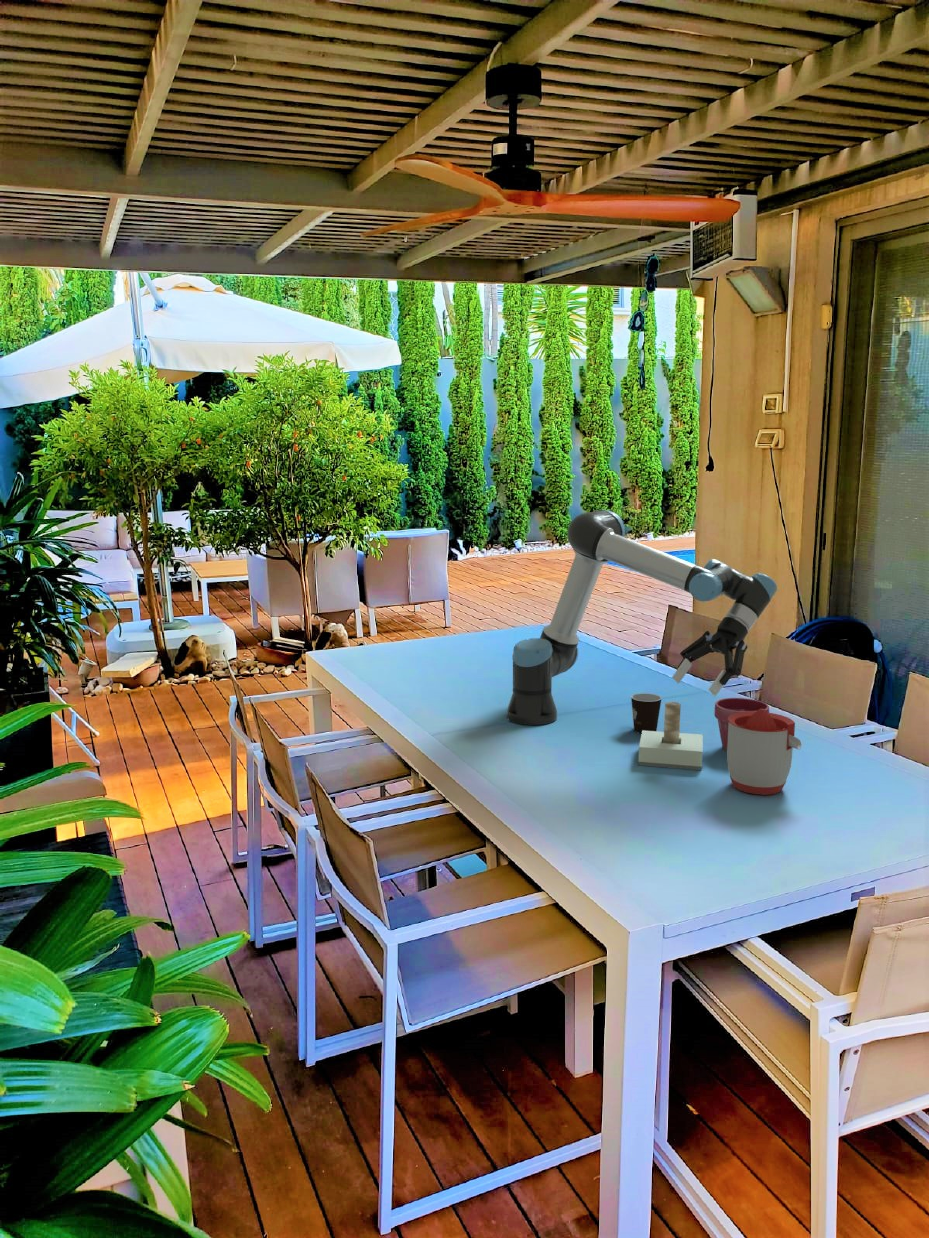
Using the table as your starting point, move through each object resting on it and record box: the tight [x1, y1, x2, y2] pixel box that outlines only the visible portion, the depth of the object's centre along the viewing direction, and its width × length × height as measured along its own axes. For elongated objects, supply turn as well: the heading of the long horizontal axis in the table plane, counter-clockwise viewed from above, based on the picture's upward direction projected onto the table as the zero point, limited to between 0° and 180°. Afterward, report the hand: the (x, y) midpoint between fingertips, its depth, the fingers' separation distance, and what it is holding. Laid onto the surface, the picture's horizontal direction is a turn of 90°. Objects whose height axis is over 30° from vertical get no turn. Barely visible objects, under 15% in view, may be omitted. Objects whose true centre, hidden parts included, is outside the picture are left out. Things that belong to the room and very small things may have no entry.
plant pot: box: [713, 697, 770, 752], centre depth 257 cm, size 14×14×13 cm
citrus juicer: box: [726, 709, 802, 796], centre depth 229 cm, size 16×17×20 cm
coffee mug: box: [630, 692, 663, 734], centre depth 275 cm, size 12×9×10 cm
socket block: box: [637, 730, 704, 771], centre depth 251 cm, size 16×14×5 cm
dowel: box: [663, 701, 682, 744], centre depth 250 cm, size 4×4×14 cm
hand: (693, 686), depth 252 cm, fingers open, 13 cm apart
